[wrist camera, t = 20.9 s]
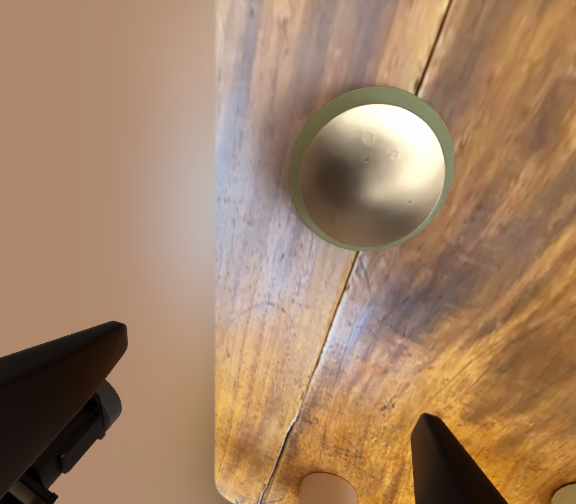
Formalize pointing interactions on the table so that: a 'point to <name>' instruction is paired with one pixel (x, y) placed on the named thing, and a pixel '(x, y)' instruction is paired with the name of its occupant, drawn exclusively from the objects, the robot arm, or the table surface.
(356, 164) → the jam lid
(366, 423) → the table surface
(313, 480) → the jam jar
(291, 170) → the coaster
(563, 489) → the candle
